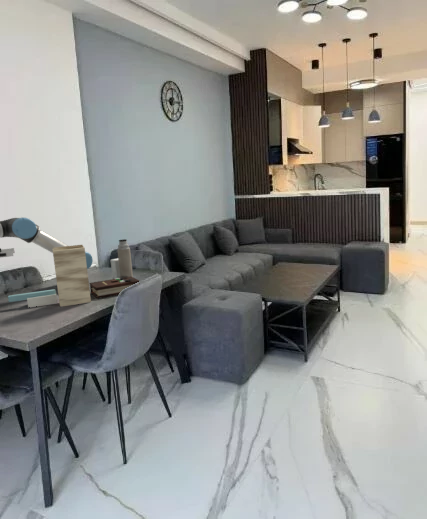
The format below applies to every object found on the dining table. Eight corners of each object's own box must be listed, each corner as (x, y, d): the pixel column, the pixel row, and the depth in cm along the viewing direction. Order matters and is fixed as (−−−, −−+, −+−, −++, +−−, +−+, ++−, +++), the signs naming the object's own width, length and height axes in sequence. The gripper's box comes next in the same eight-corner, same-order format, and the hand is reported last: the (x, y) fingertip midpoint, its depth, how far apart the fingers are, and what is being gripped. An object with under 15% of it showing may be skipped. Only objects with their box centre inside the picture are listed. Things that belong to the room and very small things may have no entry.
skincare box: (122, 278, 298) (120, 257, 295) (128, 279, 294) (125, 257, 291) (112, 281, 292) (109, 259, 289) (117, 282, 288) (115, 260, 285)
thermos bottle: (124, 280, 290) (120, 238, 286) (135, 281, 288) (131, 238, 283) (118, 283, 283) (114, 240, 278) (129, 283, 280) (125, 240, 276)
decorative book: (85, 281, 260) (133, 274, 274) (86, 294, 262) (135, 285, 275) (92, 287, 244) (144, 278, 257) (93, 300, 245) (145, 291, 258)
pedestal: (59, 302, 244) (52, 247, 238) (89, 298, 249) (82, 244, 244) (60, 306, 234) (52, 249, 229) (90, 302, 240) (84, 245, 235)
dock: (28, 304, 244) (27, 295, 244) (57, 300, 250) (55, 291, 249) (28, 307, 237) (27, 298, 236) (57, 303, 242) (56, 294, 242)
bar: (9, 301, 238) (8, 295, 238) (55, 294, 247) (55, 289, 246) (8, 302, 236) (7, 296, 235) (56, 295, 244) (55, 290, 243)
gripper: (-26, 260, 245) (15, 255, 252) (-33, 267, 222) (13, 261, 229) (-28, 247, 243) (13, 242, 251) (-35, 252, 220) (11, 247, 228)
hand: (13, 252), depth 240 cm, fingers open, 13 cm apart
